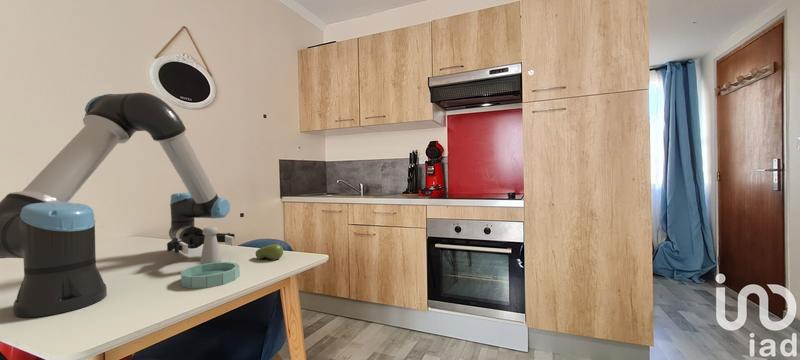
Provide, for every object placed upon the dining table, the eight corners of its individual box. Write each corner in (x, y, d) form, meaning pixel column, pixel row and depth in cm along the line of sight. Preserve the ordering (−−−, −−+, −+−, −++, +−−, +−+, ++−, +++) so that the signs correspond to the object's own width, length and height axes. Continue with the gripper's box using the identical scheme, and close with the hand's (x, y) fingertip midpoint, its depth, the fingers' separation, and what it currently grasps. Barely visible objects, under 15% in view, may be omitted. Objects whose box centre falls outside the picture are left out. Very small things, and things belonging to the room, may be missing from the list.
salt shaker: (205, 271, 100) (204, 229, 100) (197, 268, 104) (196, 227, 103) (225, 267, 105) (224, 226, 104) (216, 264, 108) (215, 225, 108)
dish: (170, 289, 85) (170, 278, 85) (196, 273, 99) (196, 263, 99) (227, 286, 87) (227, 275, 87) (245, 270, 101) (245, 261, 101)
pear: (274, 245, 110) (250, 248, 113) (277, 260, 110) (253, 263, 113) (285, 241, 116) (261, 244, 119) (287, 256, 116) (264, 259, 119)
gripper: (227, 241, 129) (250, 249, 115) (149, 253, 111) (164, 265, 97) (227, 222, 129) (250, 228, 115) (148, 231, 111) (164, 240, 96)
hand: (211, 245), depth 106 cm, fingers open, 13 cm apart
